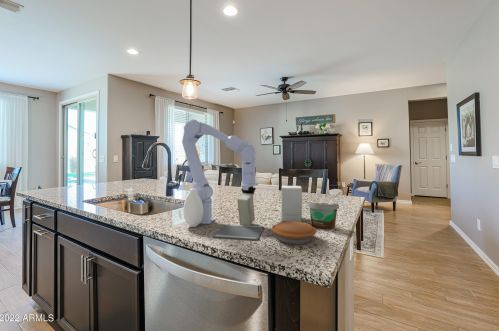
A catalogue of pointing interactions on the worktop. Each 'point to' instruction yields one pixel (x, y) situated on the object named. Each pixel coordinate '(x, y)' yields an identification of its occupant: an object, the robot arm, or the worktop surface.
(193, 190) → the white ellipsoid
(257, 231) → the mat
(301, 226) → the pie
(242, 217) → the skincare box
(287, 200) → the supplement box
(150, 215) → the worktop surface
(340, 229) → the worktop surface
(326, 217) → the food container
